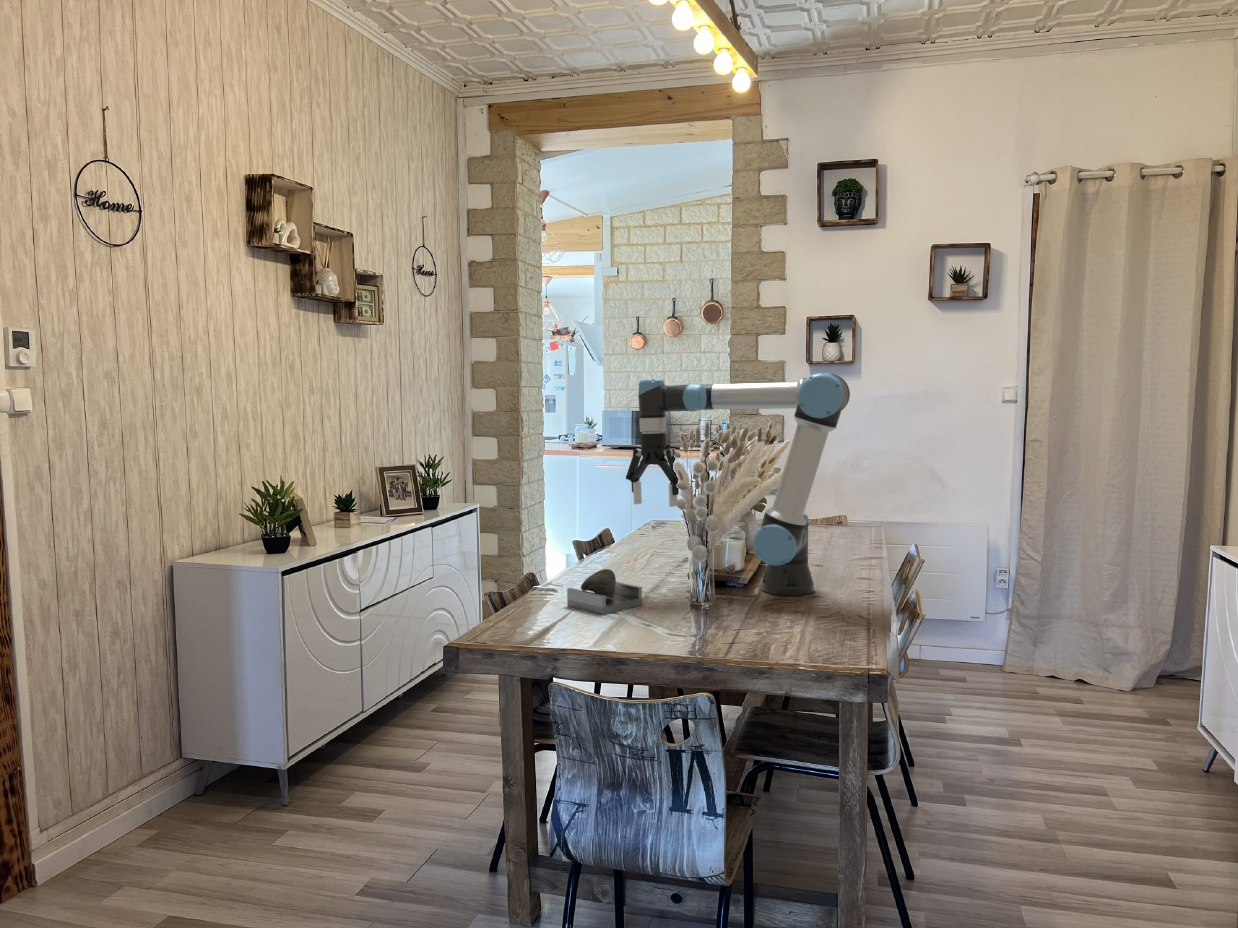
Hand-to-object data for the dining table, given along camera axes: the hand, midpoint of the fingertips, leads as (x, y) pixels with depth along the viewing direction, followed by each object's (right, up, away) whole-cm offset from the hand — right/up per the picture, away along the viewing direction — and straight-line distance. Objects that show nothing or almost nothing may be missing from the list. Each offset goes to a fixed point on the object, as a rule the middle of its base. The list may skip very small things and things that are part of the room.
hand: (655, 505), depth 263 cm
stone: (-16, -24, -16) cm, 33 cm away
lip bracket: (-15, -27, -15) cm, 34 cm away
